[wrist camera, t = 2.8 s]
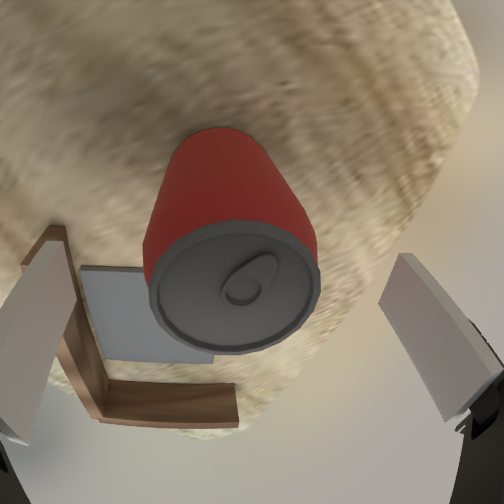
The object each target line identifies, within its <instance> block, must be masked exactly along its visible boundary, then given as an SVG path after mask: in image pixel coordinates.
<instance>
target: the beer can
mask: <svg viewBox="0 0 504 504" xmlns="http://www.w3.org/2000/svg"><path fill="white" fill-rule="evenodd" d="M143 267H144V277H145V281H146V284H147V286H148V290H149V305H150V308H151V310H152V312H153V314H154V316H155V318H156V320H157V322H158V324H159V326H160V327H161V328H163V329H164V330H165V331H166V332H167V333H168V334H169V335H170V336H171V337H172V338H173V339H174V340H176V341H178V342H180V343H182V344H184V345H186V346H188V347H190V348H192V349H194V350H197V351H202V352H206V353H210V354H215V355H242V354H247V353H252V352H257V351H261V350H264V349H266V348H268V347H271V346H273V345H275V344H278V343H280V342H282V341H283V340H285V339H286V338H287V337H289V336H290V335H292V334H293V333H294V332H296V331H297V330H298V329H300V328H301V326H302V325H303V324H304V323H305V321H306V320H307V319H308V318H309V316H310V315H311V314H312V313H313V311H314V309H315V306H316V303H317V301H318V298H319V295H320V293H321V283H320V270H319V268H318V260H317V242H316V236H315V232H314V229H313V227H312V225H311V223H310V221H309V218H308V216H307V214H306V212H305V210H304V208H303V207H302V205H301V204H300V202H299V201H298V199H297V198H296V196H295V195H294V193H293V192H292V190H291V189H290V187H289V186H288V184H287V183H286V181H285V180H284V178H283V177H282V175H281V174H280V172H279V171H278V169H277V168H276V167H275V165H274V164H273V162H272V161H271V159H270V158H269V156H268V155H267V154H266V152H265V151H264V149H263V148H262V147H261V146H260V145H259V144H258V143H257V142H256V141H255V140H254V139H253V138H252V137H251V136H249V135H247V134H245V133H242V132H240V131H238V130H236V129H229V128H220V127H217V128H212V129H207V130H202V131H199V132H198V133H196V134H194V135H192V136H191V137H189V138H187V139H186V140H185V141H184V142H183V143H182V144H181V145H180V146H179V147H178V148H177V150H176V151H175V152H174V154H173V156H172V159H171V161H170V164H169V166H168V169H167V171H166V174H165V177H164V180H163V183H162V185H161V188H160V191H159V194H158V197H157V200H156V203H155V206H154V209H153V212H152V215H151V218H150V222H149V225H148V228H147V231H146V235H145V238H144V241H143Z"/></svg>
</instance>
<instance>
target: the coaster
mask: <svg viewBox="0 0 504 504" xmlns="http://www.w3.org/2000/svg"><path fill="white" fill-rule="evenodd" d="M79 273H80V277H81V281H82V285H83V289H84V293H85V297H86V301H87V304H88V308H89V312H90V315H91V318H92V322H93V325H94V328H95V332H96V335H97V338H98V341H99V344H100V347H101V350H102V353H103V356H104V358H105V359H109V360H121V361H136V362H155V363H190V364H213V359H214V354H210V353H206V352H202V351H197V350H194V349H192V348H190V347H188V346H186V345H184V344H182V343H180V342H178V341H176V340H174V339H173V338H172V337H171V336H170V335H169V334H168V333H167V332H166V331H165V330H164V329H163V328H161V327H160V326H159V324H158V322H157V320H156V318H155V316H154V314H153V312H152V310H151V308H150V305H149V290H148V286H147V284H146V281H145V277H144V268H125V267H98V266H81V267H80V269H79Z"/></svg>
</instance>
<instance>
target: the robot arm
mask: <svg viewBox="0 0 504 504" xmlns="http://www.w3.org/2000/svg"><path fill="white" fill-rule="evenodd" d="M76 301H77V297H76V294H75V290H74V286H73V282H72V278H71V274H70V270H69V266H68V261H67V257H66V252H65V248H64V243H63V241H46V242H45V243H44V244H43V246H42V247H41V248H40V250H39V251H38V252H37V254H36V255H35V257H34V258H33V259H32V261H31V262H30V264H29V265H28V267H27V268H26V269H25V271H24V272H23V274H22V275H21V277H20V278H19V280H18V281H17V283H16V285H15V286H14V288H13V289H12V291H11V292H10V294H9V296H8V297H7V299H6V300H5V302H4V304H3V305H2V307H1V309H0V431H1V432H2V433H3V434H4V435H5V436H6V437H7V438H8V439H9V440H11V441H14V442H17V443H20V444H23V445H26V446H30V441H31V436H32V433H33V428H34V424H35V421H36V417H37V413H38V409H39V405H40V402H41V399H42V395H43V391H44V388H45V385H46V382H47V379H48V376H49V373H50V370H51V367H52V364H53V361H54V358H55V355H56V352H57V349H58V347H59V344H60V341H61V338H62V336H63V333H64V331H65V328H66V325H67V323H68V320H69V318H70V316H71V313H72V311H73V308H74V306H75V304H76ZM378 304H379V306H380V307H381V309H382V311H383V312H384V314H385V315H386V317H387V319H388V320H389V322H390V324H391V325H392V327H393V329H394V330H395V332H396V334H397V335H398V337H399V339H400V341H401V342H402V344H403V346H404V347H405V349H406V351H407V353H408V354H409V356H410V358H411V360H412V361H413V363H414V365H415V367H416V369H417V371H418V372H419V374H420V376H421V378H422V380H423V381H424V383H425V385H426V387H427V389H428V391H429V393H430V395H431V396H432V398H433V400H434V402H435V404H436V406H437V408H438V410H439V412H440V414H441V416H442V418H443V420H444V422H445V423H447V422H450V421H452V420H455V419H457V418H459V417H460V416H461V415H462V414H463V413H464V412H465V411H466V410H467V409H468V408H469V409H470V411H471V413H470V414H469V415H468V416H467V417H466V418H465V419H464V420H463V421H462V422H461V423H460V424H459V425H458V426H456V429H455V431H456V432H457V431H458V430H459V429H461V427H463V426H464V425H466V426H465V427H464V428H463V429H462V430H461V432H460V433H462V434H464V439H463V446H462V451H461V457H460V462H459V467H458V472H457V476H456V480H455V484H454V488H453V492H452V496H451V499H450V503H449V504H504V365H503V363H502V362H501V360H500V359H499V357H498V356H497V354H496V353H495V352H494V350H493V349H492V348H491V346H490V345H489V343H487V341H486V339H485V338H484V337H483V336H481V332H480V331H479V330H478V329H477V327H476V326H475V324H473V323H472V322H471V321H470V320H469V319H468V318H467V317H466V316H465V315H464V313H463V312H462V311H461V310H460V308H459V307H458V306H457V305H456V303H455V302H454V301H453V300H452V299H451V297H450V296H449V295H448V294H447V292H446V291H445V290H444V289H443V288H442V286H441V285H440V284H439V283H438V282H437V280H435V278H434V277H433V276H432V275H431V274H430V272H429V271H428V270H427V269H426V268H425V267H424V266H423V265H422V263H421V262H420V261H419V260H418V259H417V258H416V257H415V256H414V254H411V253H399V255H398V257H397V260H396V262H395V265H394V267H393V270H392V272H391V275H390V277H389V279H388V282H387V284H386V287H385V289H384V291H383V293H382V296H381V298H380V300H379V303H378ZM0 504H31V503H30V501H29V499H28V497H27V496H26V493H25V492H24V490H23V488H22V486H21V484H20V482H19V480H18V478H17V476H16V474H15V472H14V469H13V467H12V465H11V463H10V461H9V458H8V456H7V454H6V451H5V449H4V446H3V444H2V443H1V441H0Z"/></svg>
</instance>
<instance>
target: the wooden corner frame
mask: <svg viewBox="0 0 504 504" xmlns="http://www.w3.org/2000/svg"><path fill="white" fill-rule="evenodd" d="M46 241H63V243H64V248H65V252H66V257H67V261H68V266H69V270H70V274H71V278H72V282H73V286H74V290H75V294H76V297H77V301H76V304H75V306H74V308H73V311H72V313H71V316H70V318H69V320H68V323H67V325H66V328H65V331H64V333H63V336H62V338H61V341H60V344H59V347H58V349H57V352H56V356H57V358H58V360H59V362H60V364H61V366H62V368H63V370H64V372H65V374H66V375H67V377H68V379H69V381H70V383H71V385H72V386H73V388H74V390H75V392H76V393H77V395H78V397H79V399H80V400H81V402H82V403H83V405H84V407H85V408H86V410H87V412H88V413H89V415H90V416H91V418H92V419H98V420H99V421H100V423H108V424H117V425H127V426H138V427H153V428H177V429H217V428H238V425H239V416H238V409H237V402H236V394H235V387H234V384H169V383H146V382H131V381H118V380H109V379H108V376H107V374H106V371H105V369H104V366H103V363H102V361H101V358H100V355H99V353H98V350H97V347H96V344H95V341H94V338H93V335H92V332H91V329H90V326H89V323H88V320H87V316H86V313H85V310H84V306H83V303H82V299H81V296H80V292H79V288H78V284H77V280H76V276H75V272H74V268H73V264H72V259H71V255H70V250H69V245H68V240H67V235H66V230H65V226H48V227H47V229H46V230H45V231H44V233H43V234H42V235H41V237H40V238H39V239H38V241H37V242H36V243H35V245H34V246H33V247H32V249H31V250H30V251H29V253H28V254H27V256H26V257H25V259H24V260H23V261H22V263H21V264H20V266H21V270H22V273H23V272H24V271H25V269H26V268H27V267H28V265H29V264H30V262H31V261H32V259H33V258H34V257H35V255H36V254H37V252H38V251H39V250H40V248H41V247H42V246H43V244H44V243H45V242H46Z"/></svg>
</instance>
